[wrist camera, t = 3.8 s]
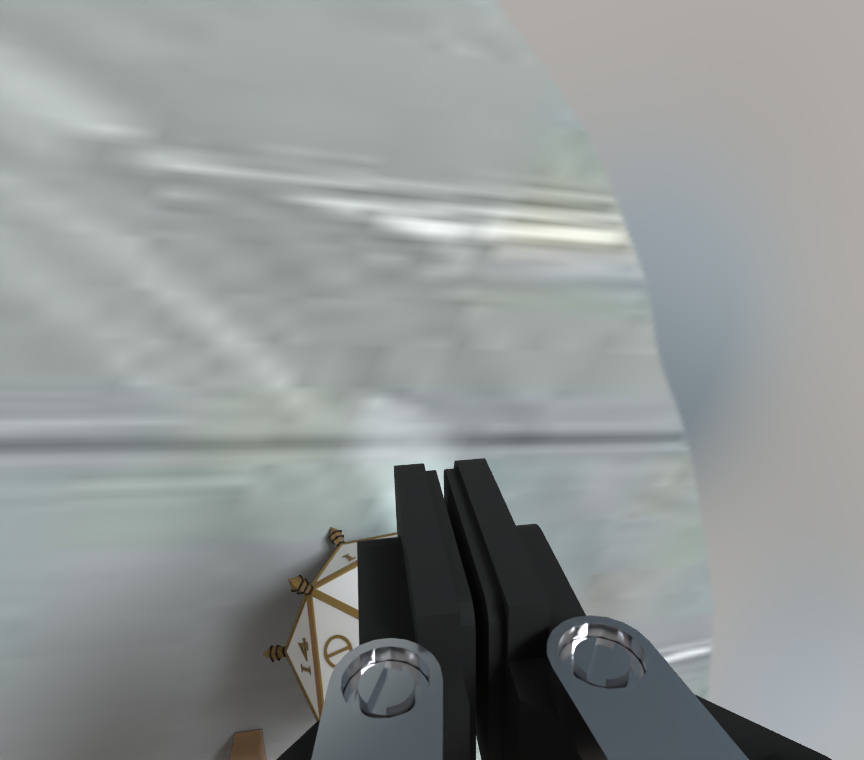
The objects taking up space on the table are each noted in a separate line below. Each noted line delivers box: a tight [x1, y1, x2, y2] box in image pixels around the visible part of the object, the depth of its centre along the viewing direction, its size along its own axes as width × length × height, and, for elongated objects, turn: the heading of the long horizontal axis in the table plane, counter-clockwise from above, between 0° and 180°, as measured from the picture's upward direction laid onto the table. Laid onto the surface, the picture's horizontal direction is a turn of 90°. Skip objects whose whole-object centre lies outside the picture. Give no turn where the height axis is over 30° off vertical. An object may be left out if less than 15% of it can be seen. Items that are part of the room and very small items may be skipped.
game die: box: [263, 527, 397, 722], centre depth 22 cm, size 9×8×10 cm
